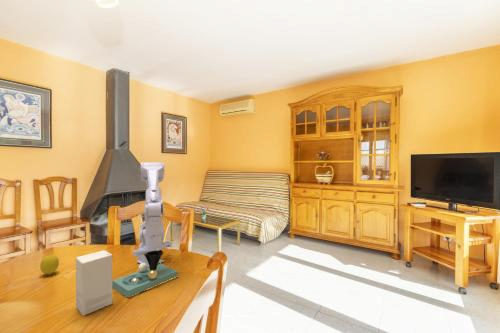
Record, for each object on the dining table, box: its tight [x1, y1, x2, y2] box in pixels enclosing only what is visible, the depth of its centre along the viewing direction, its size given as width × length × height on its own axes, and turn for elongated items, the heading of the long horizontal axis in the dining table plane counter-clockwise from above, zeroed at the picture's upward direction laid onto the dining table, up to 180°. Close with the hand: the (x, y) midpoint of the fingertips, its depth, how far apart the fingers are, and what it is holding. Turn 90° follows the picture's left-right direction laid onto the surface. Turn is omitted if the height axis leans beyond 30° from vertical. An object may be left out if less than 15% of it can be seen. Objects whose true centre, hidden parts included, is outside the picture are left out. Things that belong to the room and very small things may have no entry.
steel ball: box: [131, 277, 140, 283], centre depth 87 cm, size 3×3×3 cm
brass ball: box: [148, 270, 158, 280], centre depth 88 cm, size 3×3×3 cm
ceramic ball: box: [138, 263, 149, 272], centre depth 94 cm, size 3×3×3 cm
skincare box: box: [75, 249, 113, 317], centre depth 75 cm, size 8×7×16 cm
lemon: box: [39, 253, 60, 275], centre depth 95 cm, size 6×6×8 cm
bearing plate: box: [112, 263, 179, 298], centre depth 90 cm, size 19×11×2 cm, turn 143°
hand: (153, 270), depth 93 cm, fingers closed
